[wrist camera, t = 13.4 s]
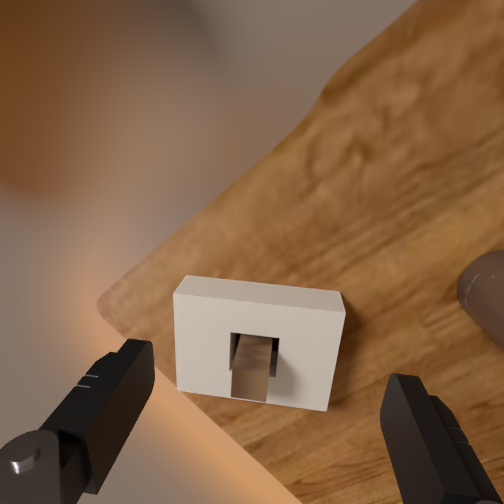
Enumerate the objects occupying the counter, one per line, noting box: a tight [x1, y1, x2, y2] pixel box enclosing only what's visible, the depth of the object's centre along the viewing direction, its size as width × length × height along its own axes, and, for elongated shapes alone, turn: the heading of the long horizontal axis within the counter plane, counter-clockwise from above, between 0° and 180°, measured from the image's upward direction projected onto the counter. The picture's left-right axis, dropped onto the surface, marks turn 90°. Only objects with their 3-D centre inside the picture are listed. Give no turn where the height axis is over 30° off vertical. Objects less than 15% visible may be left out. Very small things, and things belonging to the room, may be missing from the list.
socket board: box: [173, 275, 346, 412], centre depth 41 cm, size 20×15×5 cm
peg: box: [231, 334, 273, 402], centre depth 39 cm, size 4×4×10 cm
